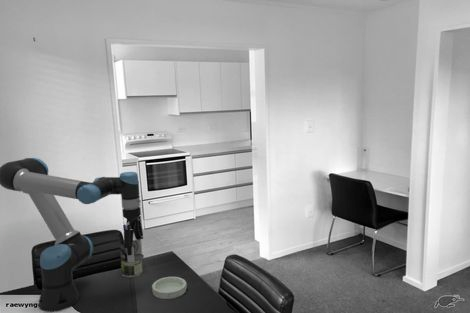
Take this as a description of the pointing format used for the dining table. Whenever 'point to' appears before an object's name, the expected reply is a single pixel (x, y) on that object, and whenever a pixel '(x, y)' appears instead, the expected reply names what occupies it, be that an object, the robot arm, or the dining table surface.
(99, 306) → the dining table surface
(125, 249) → the pocket watch
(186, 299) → the dining table surface
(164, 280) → the dish
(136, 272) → the coffee can
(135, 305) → the dining table surface
